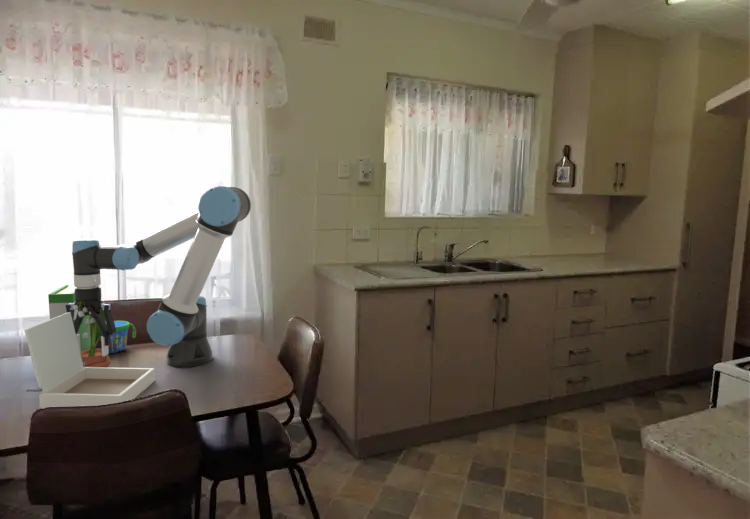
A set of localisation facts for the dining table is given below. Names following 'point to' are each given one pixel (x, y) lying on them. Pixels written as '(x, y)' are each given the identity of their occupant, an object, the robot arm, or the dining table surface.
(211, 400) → the dining table surface
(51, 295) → the hardback book
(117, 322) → the snack cup
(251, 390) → the dining table surface
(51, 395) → the white open hinged box
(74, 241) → the robot arm
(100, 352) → the potted flower
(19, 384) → the dining table surface
